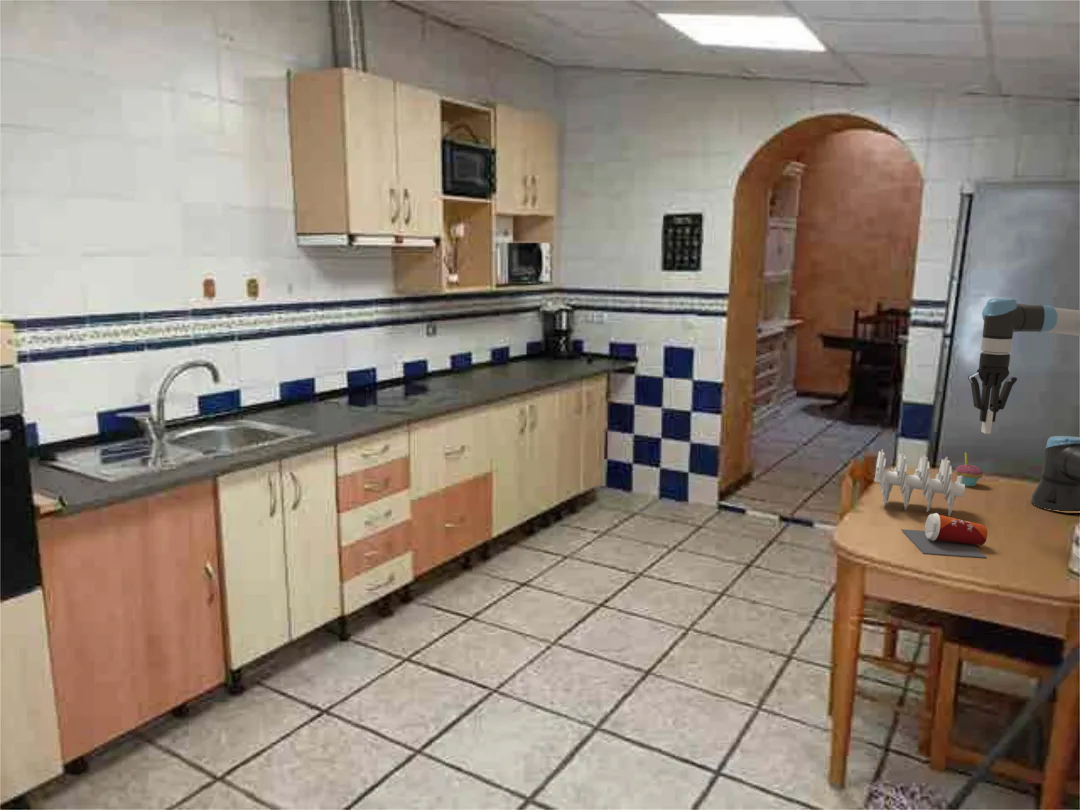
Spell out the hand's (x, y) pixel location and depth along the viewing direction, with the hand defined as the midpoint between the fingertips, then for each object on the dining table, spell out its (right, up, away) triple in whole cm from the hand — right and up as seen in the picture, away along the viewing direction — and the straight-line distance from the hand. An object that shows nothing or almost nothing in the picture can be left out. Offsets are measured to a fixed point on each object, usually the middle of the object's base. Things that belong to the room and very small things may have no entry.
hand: (985, 432), depth 234 cm
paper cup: (-9, -28, -15) cm, 33 cm away
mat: (-20, -30, -14) cm, 39 cm away
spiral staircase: (-13, -25, +15) cm, 32 cm away
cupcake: (+18, -20, +44) cm, 51 cm away
